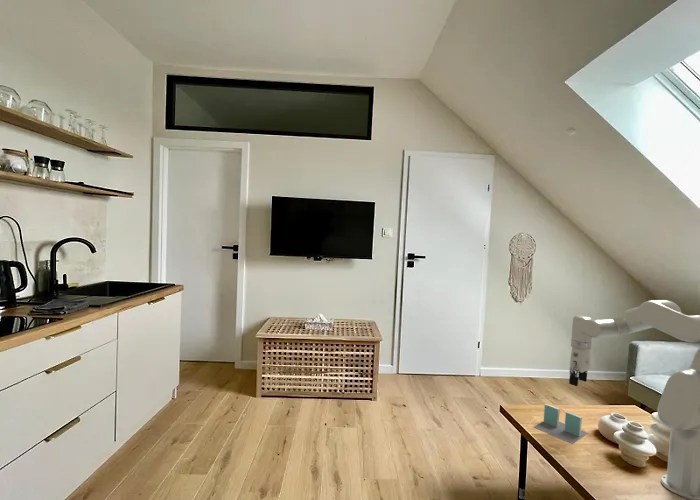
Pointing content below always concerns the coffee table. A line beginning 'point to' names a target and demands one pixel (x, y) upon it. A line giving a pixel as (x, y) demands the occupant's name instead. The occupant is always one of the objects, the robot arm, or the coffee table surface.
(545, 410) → the tile
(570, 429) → the tile
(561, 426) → the mat
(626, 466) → the coffee table surface
